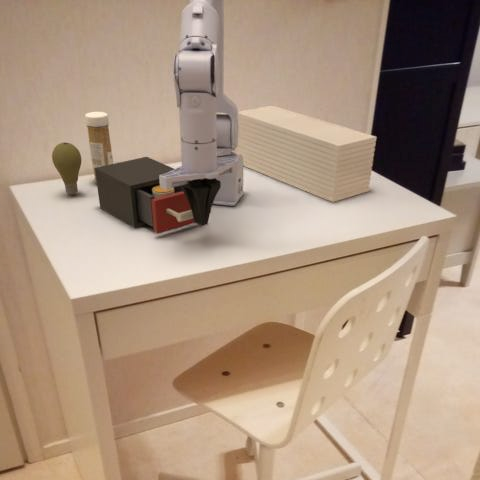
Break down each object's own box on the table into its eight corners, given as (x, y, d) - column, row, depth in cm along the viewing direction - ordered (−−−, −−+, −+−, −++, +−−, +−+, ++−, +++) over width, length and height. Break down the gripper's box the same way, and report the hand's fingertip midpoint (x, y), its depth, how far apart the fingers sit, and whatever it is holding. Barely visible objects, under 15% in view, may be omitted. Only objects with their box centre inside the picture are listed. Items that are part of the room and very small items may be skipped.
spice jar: (120, 182, 130) (112, 113, 122) (102, 187, 128) (93, 117, 119) (107, 177, 133) (99, 109, 124) (90, 182, 130) (80, 113, 122)
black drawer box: (185, 213, 117) (184, 172, 112) (134, 228, 111) (130, 185, 106) (150, 195, 124) (146, 156, 120) (100, 208, 119) (94, 167, 114)
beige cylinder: (178, 209, 113) (177, 185, 110) (171, 217, 110) (169, 193, 107) (158, 207, 114) (156, 183, 111) (150, 215, 111) (148, 190, 108)
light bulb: (92, 192, 125) (84, 141, 119) (75, 201, 121) (67, 148, 115) (70, 188, 127) (61, 137, 121) (53, 197, 123) (43, 144, 117)
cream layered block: (235, 162, 142) (235, 111, 135) (270, 154, 147) (272, 105, 140) (332, 202, 122) (338, 145, 116) (368, 191, 128) (376, 136, 121)
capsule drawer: (220, 228, 109) (219, 195, 106) (172, 242, 104) (170, 209, 101) (169, 202, 119) (167, 171, 115) (123, 214, 114) (119, 183, 110)
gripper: (175, 153, 90) (180, 241, 99) (249, 136, 97) (248, 220, 106) (149, 142, 94) (156, 227, 103) (222, 127, 101) (223, 208, 110)
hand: (201, 223), depth 104 cm, fingers closed, pressing on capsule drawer
